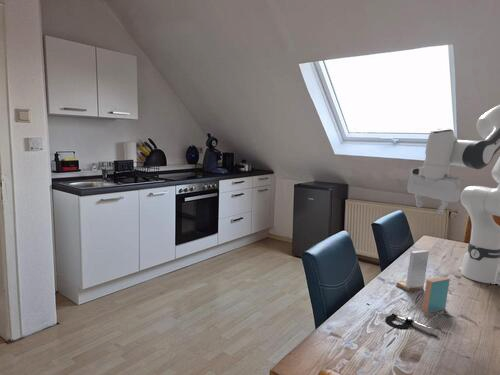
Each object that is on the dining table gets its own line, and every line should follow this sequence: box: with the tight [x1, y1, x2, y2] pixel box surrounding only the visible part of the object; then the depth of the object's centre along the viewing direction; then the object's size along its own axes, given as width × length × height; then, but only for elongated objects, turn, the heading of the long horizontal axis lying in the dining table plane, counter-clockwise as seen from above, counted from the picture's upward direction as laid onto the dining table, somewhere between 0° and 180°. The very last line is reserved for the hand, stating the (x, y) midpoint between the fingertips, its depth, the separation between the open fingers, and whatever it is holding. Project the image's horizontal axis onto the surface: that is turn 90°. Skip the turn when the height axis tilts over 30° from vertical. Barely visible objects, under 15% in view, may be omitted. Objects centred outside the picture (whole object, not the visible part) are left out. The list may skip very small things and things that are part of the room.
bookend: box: [395, 249, 430, 293], centre depth 144 cm, size 8×6×16 cm
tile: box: [422, 276, 451, 314], centre depth 126 cm, size 9×2×11 cm, turn 116°
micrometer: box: [385, 313, 440, 338], centre depth 113 cm, size 15×7×2 cm, turn 41°
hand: (429, 209), depth 139 cm, fingers open, 8 cm apart
